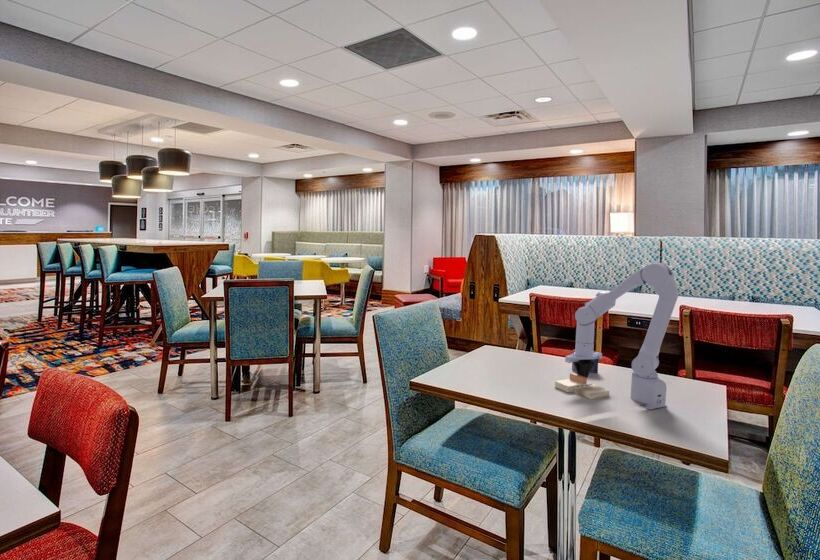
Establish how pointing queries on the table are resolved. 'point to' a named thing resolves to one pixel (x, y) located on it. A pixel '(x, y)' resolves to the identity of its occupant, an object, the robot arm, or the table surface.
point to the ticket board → (591, 391)
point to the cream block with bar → (571, 382)
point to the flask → (593, 369)
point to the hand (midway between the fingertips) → (582, 381)
